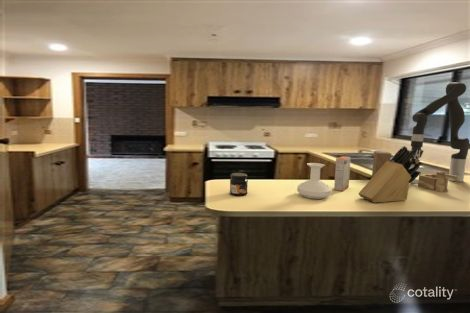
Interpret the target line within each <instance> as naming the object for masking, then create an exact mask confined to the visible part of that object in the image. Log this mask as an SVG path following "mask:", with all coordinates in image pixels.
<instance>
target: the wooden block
mask: <svg viewBox="0 0 470 313" xmlns="http://www.w3.org/2000/svg"><path fill="white" fill-rule="evenodd" d="M391 157H392V153H390V152H389V151H376V150H375V151H374V152H373V161H372V170H371V171H372V172H371V177H373V176H374V175H375V174H376V173H377V172H378V171H379V169H380V168H381V167H382V166H383V165H384V164H385V163H386V162H387V161H389V162H390V160H391V159H392V158H391Z"/></svg>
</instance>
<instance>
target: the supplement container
mask: <svg viewBox="0 0 470 313" xmlns="http://www.w3.org/2000/svg"><path fill="white" fill-rule="evenodd" d="M247 178H248V174H247V173H243V172H233V173H231V174H230V179H229V194H230V195H231V196H233V195H234V196H233V197H245V196H247V195H248V179H247Z"/></svg>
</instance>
